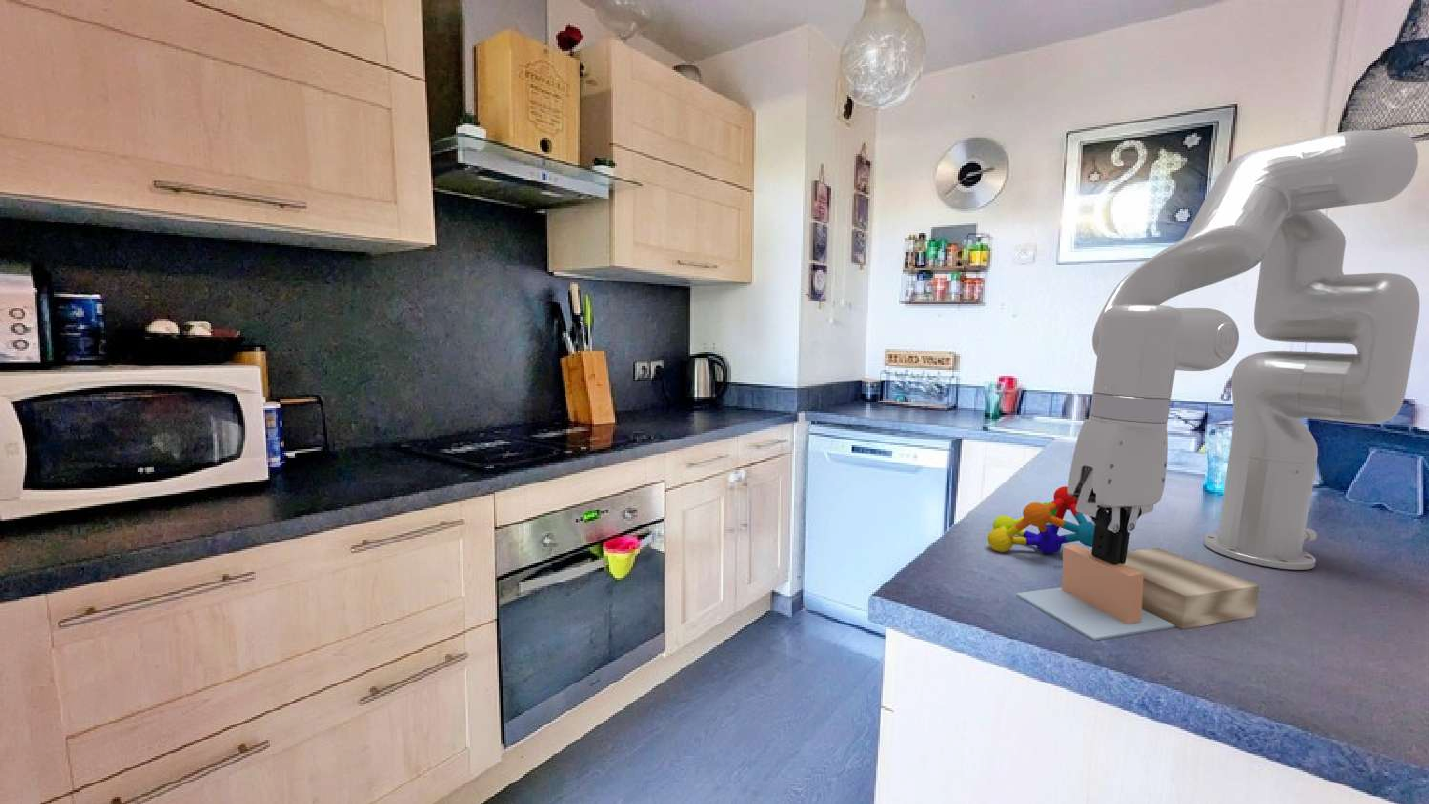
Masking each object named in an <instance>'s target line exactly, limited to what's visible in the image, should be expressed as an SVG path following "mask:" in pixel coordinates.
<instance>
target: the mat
mask: <svg viewBox="0 0 1429 804" xmlns="http://www.w3.org/2000/svg"><path fill="white" fill-rule="evenodd" d="M1015 596H1016V597H1018V598H1020V599H1022V600H1023V601H1024V602H1026V603H1028V604H1029V605H1031V606H1033V607H1035V608H1037V609H1038V610H1040V611H1042V612H1044V613H1045V614H1047V615H1049V616H1050V617H1052V618H1054V619H1056V620H1057V621H1059V622H1060V623H1062V624H1064V625H1066V626H1068V627H1069V628H1072V630H1074V631H1076V632H1078V633H1080V634H1081V635H1082V636H1084V637H1086V638H1088V639H1090V640H1091V641H1094V642H1095V641H1101V640H1107V639H1113V638H1119V637H1124V636H1125V637H1126V636H1131V635H1137V634H1142V633H1148V632H1155V631H1162V630H1167V629H1172V628H1173V629H1174V628H1175V625H1174V624H1172V623H1169V622H1167V621H1165V620H1163V619H1161V618H1159V617H1157V616H1155V615H1153V614H1151V613H1149V612H1147V611H1145V610H1143V609H1142V615H1141V621H1140V622H1137V623H1133V624H1126V623H1124V622H1122V621H1120V620H1118V619H1116V618H1114V617H1113V616H1111V615H1109V614H1107V613H1105V612H1103V611H1101V610H1099V609H1098V608H1096V607H1094V606H1092V605H1090V604H1088V603H1086V602H1084V601H1082V600H1081V599H1079V598H1077V597H1075V596H1073V595H1071V594H1069V593H1067V592H1066V591H1064V590H1062V586H1060V587H1059V586H1058V587H1054V588H1045V589H1039V590H1038V589H1037V590H1031V591H1030V590H1029V591H1023V592H1016V593H1015Z"/></svg>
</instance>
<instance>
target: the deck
mask: <svg viewBox="0 0 1429 804" xmlns="http://www.w3.org/2000/svg"><path fill="white" fill-rule="evenodd" d="M1124 565H1126V566H1128V567H1131V568H1133V569H1135V570H1138V571H1140V572H1142V573H1144V575H1143V595H1142V609H1143V610H1145V611H1147V612H1149V613H1151V614H1153V615H1155V616H1157V617H1159V618H1161V619H1163V620H1165V621H1167V622H1169V623H1172V624H1174V627H1177V628H1179V629H1181V630H1183V629H1190V628H1196V627H1201V626H1208V625H1213V624H1218V623H1219V624H1220V623H1224V622H1225V623H1226V622H1233V621H1238V620H1243V619H1249V618H1255V617H1256V610H1257V604H1258V598H1259V591H1260V584H1256V583H1254V582H1251V581H1249V580H1246V579H1243V578H1241V577H1237V576H1235V575H1232V574H1229V573H1227V572H1224V571H1222V570H1219V569H1216V568H1213V567H1210V566H1208V565H1205V564H1204V563H1200V562H1197V561H1194V560H1191V559H1190V558H1187V557H1184V556H1182V555H1179V554H1175V553H1173V552H1170V551H1168V550H1165V549H1162V548H1160V547H1154V548H1146V549H1145V548H1144V549H1136V550H1127V557H1126V563H1125V564H1124Z"/></svg>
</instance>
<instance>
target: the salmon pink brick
mask: <svg viewBox="0 0 1429 804" xmlns="http://www.w3.org/2000/svg"><path fill="white" fill-rule="evenodd" d="M1091 550H1092V549H1089V548H1086V547H1084V546H1081V545H1079V544H1076V543H1074V544H1069V545H1064V546H1062V575H1061V576H1062V578H1061V579H1062V580H1061V581H1062V583H1061V584H1062V585H1061V587H1062V590H1064V591H1066V592H1067V593H1069V594H1071V595H1073V596H1075V597H1077V598H1079V599H1081V600H1082V601H1084V602H1086V603H1088V604H1090V605H1092V606H1094V607H1096V608H1098V609H1099V610H1101V611H1103V612H1105V613H1107V614H1109V615H1111V616H1113V617H1114V618H1116V619H1118V620H1120V621H1122V622H1124V623H1126V624H1133V623H1137V622H1140V621H1141V615H1142V595H1143V575H1144V573H1142V572H1140V571H1138V570H1135V569H1133V568H1131V567H1128V566H1126V565H1124V564H1121V563H1118V564H1115V565H1112V564H1110V563H1108V562H1105V561H1103V560H1101V559H1098V558H1096V557H1094V556H1092V554H1091Z"/></svg>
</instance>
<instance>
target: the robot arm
mask: <svg viewBox="0 0 1429 804" xmlns="http://www.w3.org/2000/svg"><path fill="white" fill-rule="evenodd" d="M1418 162H1419V154H1418V149H1417V145H1416V144H1415V141H1414V139H1413V138H1412V137H1411V136H1410V135H1409V134H1407V133H1405V132H1404V131H1402V130H1398V129H1384V130H1383V129H1381V130H1379V129H1378V130H1377V129H1375V130H1374V129H1372V130H1371V129H1369V130H1367V129H1366V130H1365V129H1364V130H1347V131H1342V132H1335V133H1329V134H1324V135H1319V136H1313V137H1309V138H1305V139H1300V140H1295V141H1290V142H1285V143H1280V144H1275V145H1271V146H1270V145H1269V146H1266V147H1262V148H1258V149H1253V150H1251V151H1247V152H1245V153H1243V154H1240V155H1239V156H1237V157H1235V158H1234V159H1232V160H1231V161H1229V162H1228V163H1227V164H1226V165H1225V166H1224V167H1223V168H1222V170H1221V171H1220V172H1219V174H1218V176H1217V178H1216V180H1214V183H1213V185H1212V187H1211V189H1209V192H1208V194H1207V196H1206V197H1205V199H1204V201H1203V202H1202V205H1200V208H1199V210H1198V212H1197V213H1196V215H1195V217H1194V219H1193V221H1192V222H1191V225H1190V226H1189V228H1188V230H1187V231H1186V233H1185V235H1184V237H1183V238H1182V239H1180V240H1178V241H1177V242H1174V243H1173V244H1171V245H1170V246H1167V247H1166V248H1165V249H1163V250H1161V251H1159V252H1158V253H1156V254H1155V255H1154V256H1152V257H1151V258H1149V259H1147V260H1146V261H1145V262H1144V263H1141V264H1140V265H1139V266H1137V267H1136V268H1135V269H1133V270H1132V271H1131V272H1129V273H1128V274H1127V275H1125V276H1124V278H1123V279H1121V280H1120V282H1119V283H1118V284H1117V286H1115V288H1114V289H1113V291H1112V293H1111V295H1110V296H1109V297H1108V299H1107V301H1106V303H1105V304H1104V306H1103V308H1102V310H1101V311H1100V313H1099V315H1098V318H1097V320H1096V323H1095V325H1094V327H1093V330H1092V331H1093V332H1092V337H1091V345H1092V350H1093V352H1094V354H1095V356H1096V360H1095V361H1096V363H1095V370H1094V376H1093V377H1094V378H1093V385H1092V386H1093V387H1092V393H1091V401H1090V407H1089V409H1090V410H1089V416H1088V419H1084V421H1083V423H1082V425H1081V428H1080V431H1079V433H1078V436H1077V439H1076V444H1075V445H1074V446H1075V447H1074V450H1073V451H1074V452H1073V454H1072V460H1071V464H1070V470H1069V474H1068V482H1067V486H1068V494H1069V495H1070V496H1071V497H1073V498H1078V502H1077V505H1076V511H1077V512H1080V513H1082V514H1083V515H1084V516H1089V518H1090V522H1091V523H1092V525H1095V528H1094V535H1093V543H1092V547H1091V549H1090V550H1091V554H1092V556H1094V557H1096V558H1098V559H1101V560H1103V561H1105V562H1108V563H1110V564H1112V565H1115V564H1118V563H1121V564H1125V563H1126V557H1127V551H1129V550H1128V549H1129V542H1130V535H1131V533H1132V532H1134V530H1135V529H1136V524H1137V521H1138V519H1139V518H1140V517H1141V516H1143V515H1146V514H1149V513H1151V512H1153V510H1154V505H1156V504H1158V503H1159V502H1160V501H1161V500H1162V498H1163V495H1164V491H1165V485H1166V478H1167V469H1168V452H1169V451H1168V447H1169V446H1168V444H1169V442H1168V441H1169V440H1168V422H1169V414H1170V409H1171V408H1170V407H1171V401H1172V396H1173V395H1172V394H1173V387H1174V380H1175V375H1176V374H1175V373H1176V371H1183V372H1185V371H1186V372H1203V371H1210V370H1213V369H1216V368H1218V367H1221V366H1223V365H1224V364H1226V363H1227V362H1228V361H1229V360H1230V359H1231V358H1232V357H1233V355H1235V352H1236V350H1237V348H1238V345H1239V342H1240V341H1239V340H1240V334H1239V329H1238V326H1237V324H1236V323H1235V320H1233V318H1232V317H1231V316H1230V315H1228V314H1227V313H1225V312H1224V311H1221V310H1218V309H1214V308H1209V307H1172V306H1169V305H1164V304H1163V303H1165V302H1168V301H1169V300H1171V299H1173V298H1176V297H1177V296H1181V295H1182V294H1185V293H1189V292H1192V291H1194V290H1198V289H1201V288H1204V287H1207V286H1211V285H1213V284H1214V285H1215V284H1217V283H1219V282H1222V281H1226V280H1227V279H1230V278H1231V279H1232V278H1234V277H1237V276H1238V275H1242V274H1243V273H1246V272H1248V271H1250V270H1251V269H1253V268H1255V267H1256V266H1257V265H1260V266H1259V274H1258V279H1257V288H1256V294H1255V302H1254V303H1255V304H1254V311H1253V326H1254V330H1255V332H1256V333H1257V334H1258V336H1260V338H1264V339H1266V340H1271V341H1274V342H1275V341H1276V342H1286V343H1311V344H1312V343H1313V344H1314V343H1315V344H1316V343H1317V344H1345V345H1347V344H1348V345H1351V346H1353V347H1355V349H1356V352H1357V353H1338V352H1335V353H1334V352H1320V351H1291V350H1288V351H1287V350H1271V351H1270V350H1268V351H1262V352H1261V351H1259V352H1256V353H1252V354H1250V355H1247V356H1245V357H1244V358H1242V359H1240V360H1239V362H1238V363H1237V364H1236V365H1235V367H1234V368H1233V371H1232V374H1231V386H1230V387H1231V396H1232V407H1233V408H1232V410H1233V411H1232V413H1233V415H1232V418H1233V419H1232V431H1231V440H1230V441H1231V442H1230V447H1229V453H1228V454H1229V455H1228V461H1227V467H1226V475H1225V483H1224V489H1223V496H1222V505H1221V511H1220V517H1219V518H1220V519H1219V526H1218V532H1211V533H1207V534H1206V535H1205V536H1204V538H1203V544H1204V545H1205V546H1206V547H1207V548H1208V549H1210V550H1212V551H1214V552H1216V553H1218V554H1221V555H1223V556H1226V557H1228V558H1231V559H1235V560H1238V561H1242V562H1243V563H1249V564H1253V565H1258V566H1263V567H1268V568H1273V569H1281V570H1290V571H1291V570H1292V571H1293V570H1295V571H1303V570H1305V571H1307V570H1311V569H1313V568H1315V566H1316V561H1317V560H1316V557H1314V556H1313V555H1312V554H1311V553H1309V552H1307V551H1306V550H1304V549H1303V546H1304V543H1305V542H1311V541H1315V540H1316V539H1317V537H1318V534H1317V532H1316V531H1315V530H1314V529H1312V528H1307V522H1308V516H1309V511H1310V504H1311V497H1312V493H1313V492H1312V491H1313V486H1314V479H1315V473H1316V467H1317V463H1318V462H1317V461H1318V456H1319V453H1318V452H1319V451H1318V450H1319V448H1318V443H1317V442H1316V440H1315V438H1314V436H1313V435H1312V433H1311V432H1310V431H1309V429H1308V428H1307V427H1306V425H1304V422H1302V420H1301V419H1315V420H1323V421H1324V420H1325V421H1331V422H1332V421H1333V422H1335V421H1336V422H1342V423H1343V422H1344V423H1354V424H1363V425H1364V424H1365V425H1372V424H1373V425H1374V424H1382V423H1385V422H1389V421H1390V420H1392V419H1394V418H1395V417H1396V416H1397V415H1398V414H1399V412H1400V410H1401V408H1402V406H1403V404H1404V400H1405V398H1406V393H1407V388H1408V383H1409V377H1410V376H1409V375H1410V369H1411V366H1412V365H1411V364H1412V359H1413V354H1414V353H1413V352H1414V346H1415V341H1416V333H1417V330H1418V329H1417V328H1418V322H1419V315H1420V295H1419V291H1418V288H1417V285H1416V284H1415V282H1413V280H1412V279H1410V278H1409V277H1407V276H1405V275H1402V274H1398V273H1391V272H1390V273H1389V272H1374V273H1373V272H1371V273H1370V272H1369V273H1352V274H1351V273H1349V274H1344V272H1343V271H1344V270H1343V269H1344V268H1343V266H1344V259H1345V252H1346V251H1345V250H1346V246H1347V240H1346V235H1345V234H1344V232H1343V231H1342V230H1341V228H1340V227H1339V226H1338V225H1337V224H1336V222H1334V221H1333V220H1332V219H1331V218H1329V217H1328V216H1327V215H1326V214H1324V213H1323V212H1322V211H1320V210H1324V209H1326V210H1327V209H1332V208H1340V207H1350V206H1358V205H1369V204H1375V203H1382V202H1388V201H1389V200H1392V199H1394V198H1396V197H1397V196H1399V194H1401V193H1402V192H1403V191H1404V190H1405V189H1406V188H1407V187H1408V186H1409V185H1410V183H1411V181H1412V179H1413V178H1414V176H1415V174H1416V171H1417V168H1418ZM1259 263H1260V264H1259ZM1162 304H1163V305H1162ZM1300 418H1301V419H1300Z"/></svg>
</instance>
